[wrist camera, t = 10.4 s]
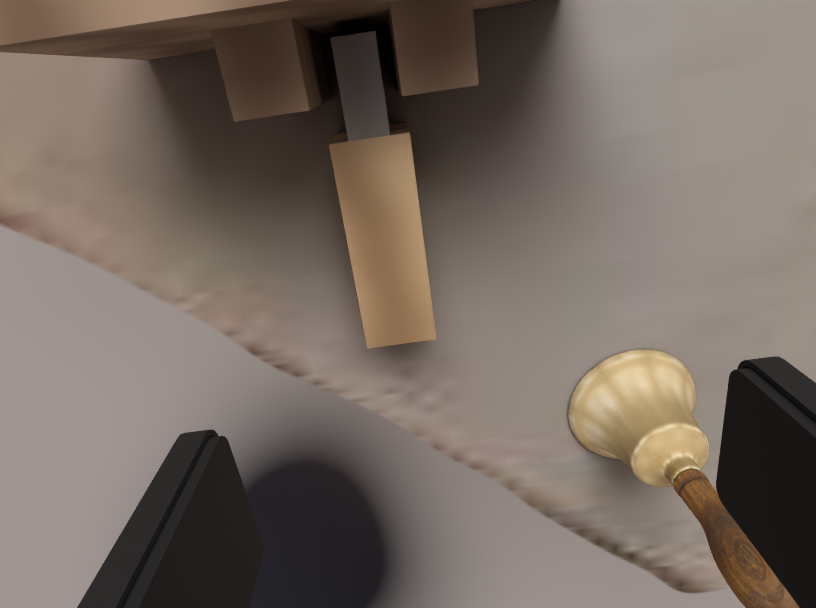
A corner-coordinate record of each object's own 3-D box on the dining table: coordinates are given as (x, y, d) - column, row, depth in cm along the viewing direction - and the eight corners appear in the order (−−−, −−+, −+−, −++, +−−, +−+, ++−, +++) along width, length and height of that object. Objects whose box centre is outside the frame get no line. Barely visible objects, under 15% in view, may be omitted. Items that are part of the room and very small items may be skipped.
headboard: (560, -54, 24) (704, -157, 13) (563, 64, 26) (689, 59, 15) (133, 13, 25) (-67, -34, 14) (168, 124, 27) (17, 161, 16)
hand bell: (719, 372, 34) (970, 597, 19) (650, 468, 37) (823, 727, 22) (607, 330, 33) (790, 541, 18) (545, 435, 36) (657, 689, 21)
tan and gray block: (394, 35, 26) (396, 27, 21) (429, 299, 31) (436, 339, 27) (322, 46, 26) (309, 41, 21) (370, 308, 31) (367, 348, 27)
